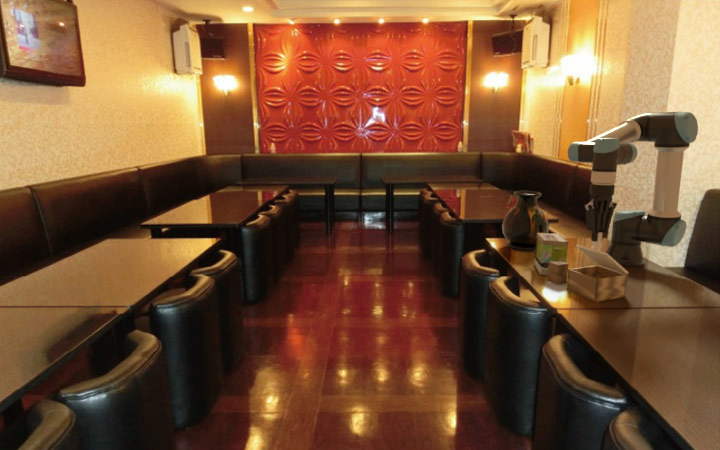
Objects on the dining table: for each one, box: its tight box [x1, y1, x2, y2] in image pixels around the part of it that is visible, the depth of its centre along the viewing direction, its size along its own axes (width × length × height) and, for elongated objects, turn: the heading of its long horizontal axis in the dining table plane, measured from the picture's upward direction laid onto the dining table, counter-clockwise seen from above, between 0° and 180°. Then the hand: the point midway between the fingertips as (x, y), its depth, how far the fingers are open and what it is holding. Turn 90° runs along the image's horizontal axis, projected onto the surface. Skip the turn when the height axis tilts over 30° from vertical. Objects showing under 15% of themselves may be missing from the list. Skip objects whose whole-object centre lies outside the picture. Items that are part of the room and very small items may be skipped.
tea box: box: [533, 232, 569, 276], centre depth 191 cm, size 15×10×15 cm
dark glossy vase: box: [501, 190, 549, 253], centre depth 224 cm, size 22×22×28 cm
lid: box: [575, 243, 630, 275], centre depth 163 cm, size 14×13×1 cm
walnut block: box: [546, 260, 569, 286], centre depth 177 cm, size 5×5×8 cm
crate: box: [565, 264, 628, 303], centre depth 165 cm, size 14×13×8 cm
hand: (595, 249), depth 161 cm, fingers closed
